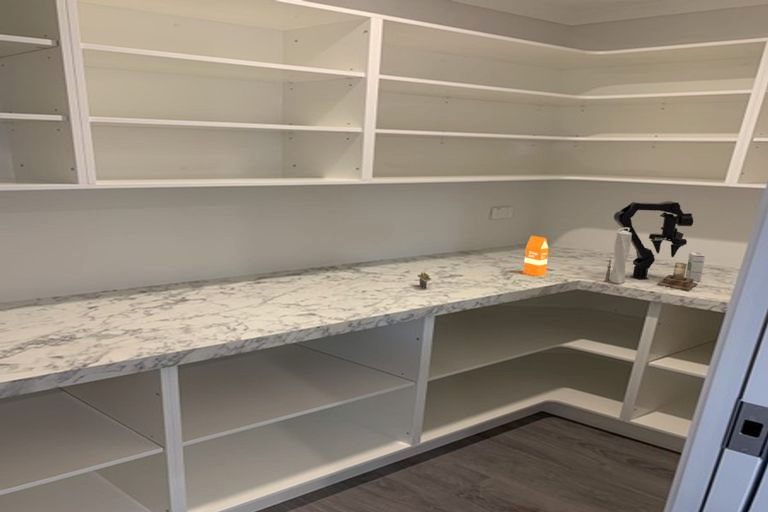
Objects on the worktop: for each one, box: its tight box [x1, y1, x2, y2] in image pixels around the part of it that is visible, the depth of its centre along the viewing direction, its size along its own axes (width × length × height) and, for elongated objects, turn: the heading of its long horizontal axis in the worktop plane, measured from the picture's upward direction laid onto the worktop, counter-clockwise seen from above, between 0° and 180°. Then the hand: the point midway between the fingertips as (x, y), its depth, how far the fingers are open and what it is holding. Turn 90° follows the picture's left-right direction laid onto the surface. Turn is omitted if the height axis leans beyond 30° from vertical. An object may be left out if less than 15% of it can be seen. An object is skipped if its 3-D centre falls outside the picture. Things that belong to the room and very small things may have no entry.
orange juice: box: [523, 235, 549, 277], centre depth 262 cm, size 8×9×20 cm
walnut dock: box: [656, 274, 699, 292], centre depth 252 cm, size 14×18×4 cm
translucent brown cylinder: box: [672, 262, 688, 281], centre depth 251 cm, size 5×5×10 cm
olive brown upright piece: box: [417, 272, 432, 289], centre depth 230 cm, size 12×18×7 cm, turn 18°
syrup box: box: [684, 252, 706, 282], centre depth 263 cm, size 6×6×14 cm
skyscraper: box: [604, 227, 632, 285], centre depth 250 cm, size 8×8×28 cm
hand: (665, 255), depth 261 cm, fingers open, 9 cm apart
